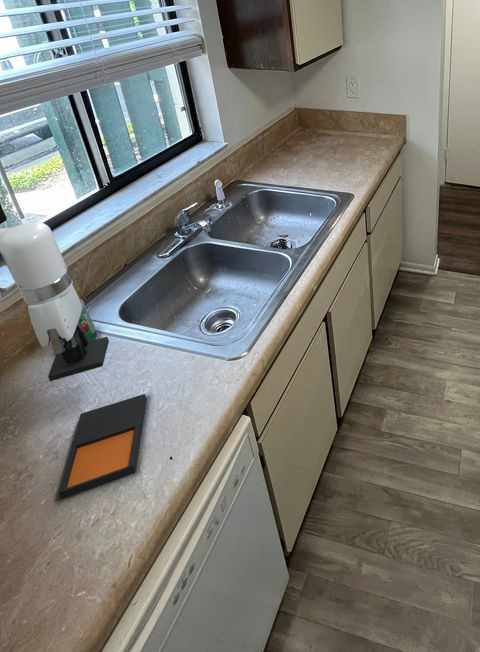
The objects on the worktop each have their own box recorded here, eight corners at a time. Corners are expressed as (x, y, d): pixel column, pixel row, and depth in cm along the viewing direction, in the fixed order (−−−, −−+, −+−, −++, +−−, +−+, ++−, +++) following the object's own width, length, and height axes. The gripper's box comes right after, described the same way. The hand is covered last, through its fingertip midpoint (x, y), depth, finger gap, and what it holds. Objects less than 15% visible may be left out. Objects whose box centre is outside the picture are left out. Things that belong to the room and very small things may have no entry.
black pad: (50, 381, 87) (36, 355, 83) (60, 354, 92) (47, 328, 89) (102, 366, 90) (91, 340, 87) (109, 341, 96) (98, 315, 92)
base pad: (60, 499, 79) (57, 493, 78) (83, 419, 92) (80, 413, 91) (135, 472, 83) (133, 466, 82) (146, 399, 96) (144, 393, 95)
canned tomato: (88, 325, 115) (74, 293, 111) (104, 337, 112) (90, 305, 107) (54, 347, 109) (37, 314, 104) (70, 360, 106) (54, 327, 101)
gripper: (36, 263, 88) (66, 330, 96) (5, 320, 74) (43, 393, 82) (80, 254, 90) (106, 320, 98) (57, 308, 77) (90, 379, 85)
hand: (77, 352), depth 90 cm, fingers closed on black pad, 2 cm apart
